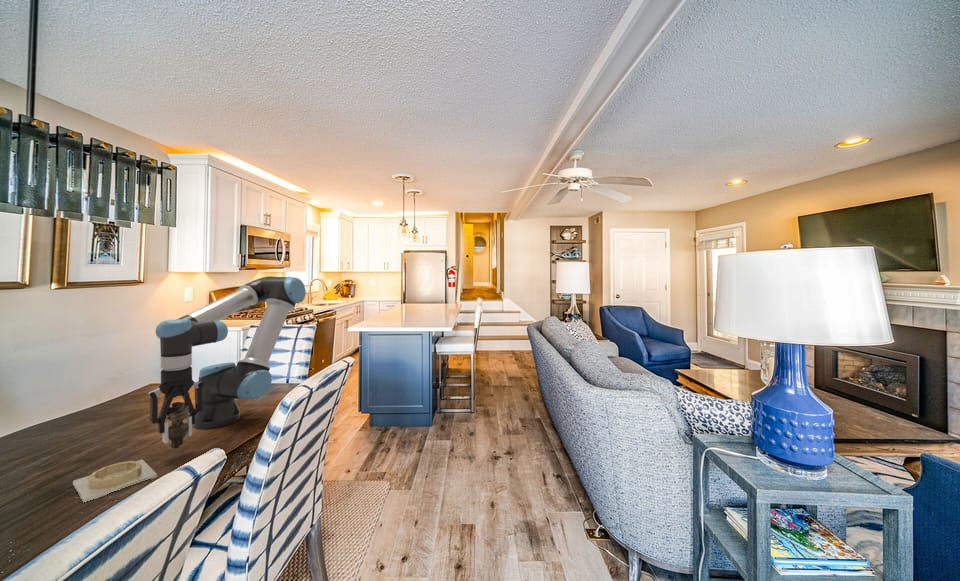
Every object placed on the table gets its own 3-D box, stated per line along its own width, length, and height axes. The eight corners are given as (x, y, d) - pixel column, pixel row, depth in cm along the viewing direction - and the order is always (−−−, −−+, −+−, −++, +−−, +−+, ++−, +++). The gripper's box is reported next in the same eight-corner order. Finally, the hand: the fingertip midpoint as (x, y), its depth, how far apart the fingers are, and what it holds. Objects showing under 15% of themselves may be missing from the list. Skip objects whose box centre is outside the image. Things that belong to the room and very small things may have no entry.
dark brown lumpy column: (172, 444, 112) (173, 399, 111) (192, 442, 114) (192, 398, 113) (162, 452, 107) (162, 405, 106) (183, 450, 108) (183, 404, 108)
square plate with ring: (142, 462, 106) (142, 453, 106) (156, 477, 98) (156, 467, 98) (72, 484, 94) (72, 473, 94) (83, 503, 86) (83, 491, 86)
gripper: (206, 360, 119) (206, 425, 120) (133, 372, 103) (134, 446, 104) (215, 363, 115) (215, 431, 115) (141, 376, 99) (142, 453, 100)
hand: (177, 438), depth 110 cm, fingers closed on dark brown lumpy column, 5 cm apart
